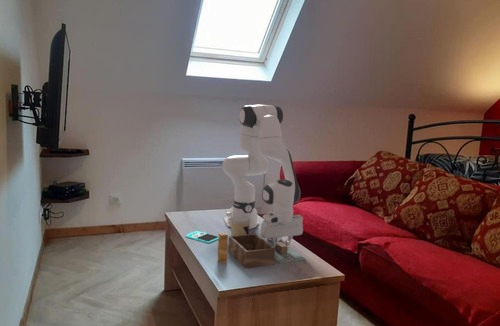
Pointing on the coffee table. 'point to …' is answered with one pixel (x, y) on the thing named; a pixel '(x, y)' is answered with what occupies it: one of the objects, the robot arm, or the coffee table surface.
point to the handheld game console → (202, 237)
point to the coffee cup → (240, 225)
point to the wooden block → (222, 247)
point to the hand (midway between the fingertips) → (281, 245)
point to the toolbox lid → (286, 254)
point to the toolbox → (251, 250)
